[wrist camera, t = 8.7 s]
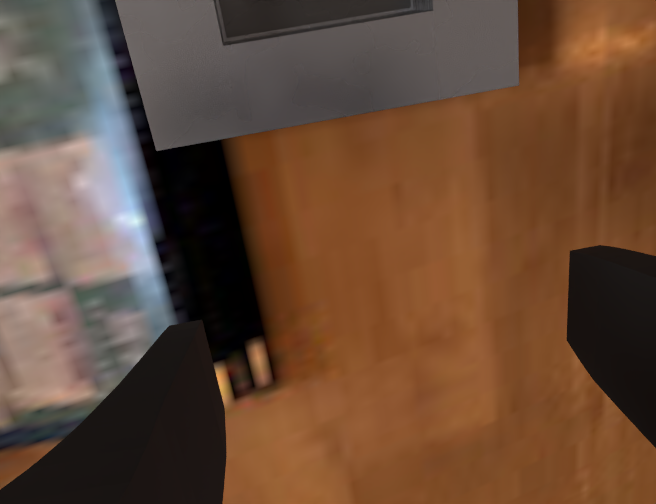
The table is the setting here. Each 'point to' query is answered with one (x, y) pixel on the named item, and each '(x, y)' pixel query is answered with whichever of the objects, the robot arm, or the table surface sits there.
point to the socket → (308, 59)
